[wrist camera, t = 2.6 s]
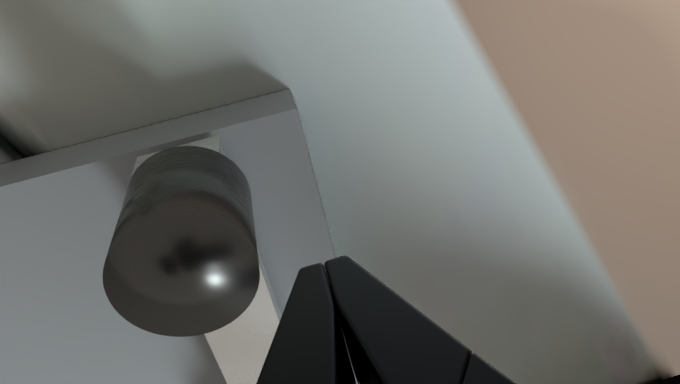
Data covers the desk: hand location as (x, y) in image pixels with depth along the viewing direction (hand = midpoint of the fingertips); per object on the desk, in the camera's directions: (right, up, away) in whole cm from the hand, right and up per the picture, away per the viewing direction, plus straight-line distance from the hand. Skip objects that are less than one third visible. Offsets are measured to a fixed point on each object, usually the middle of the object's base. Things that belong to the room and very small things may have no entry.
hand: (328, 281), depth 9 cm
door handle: (-3, -2, +7) cm, 7 cm away
